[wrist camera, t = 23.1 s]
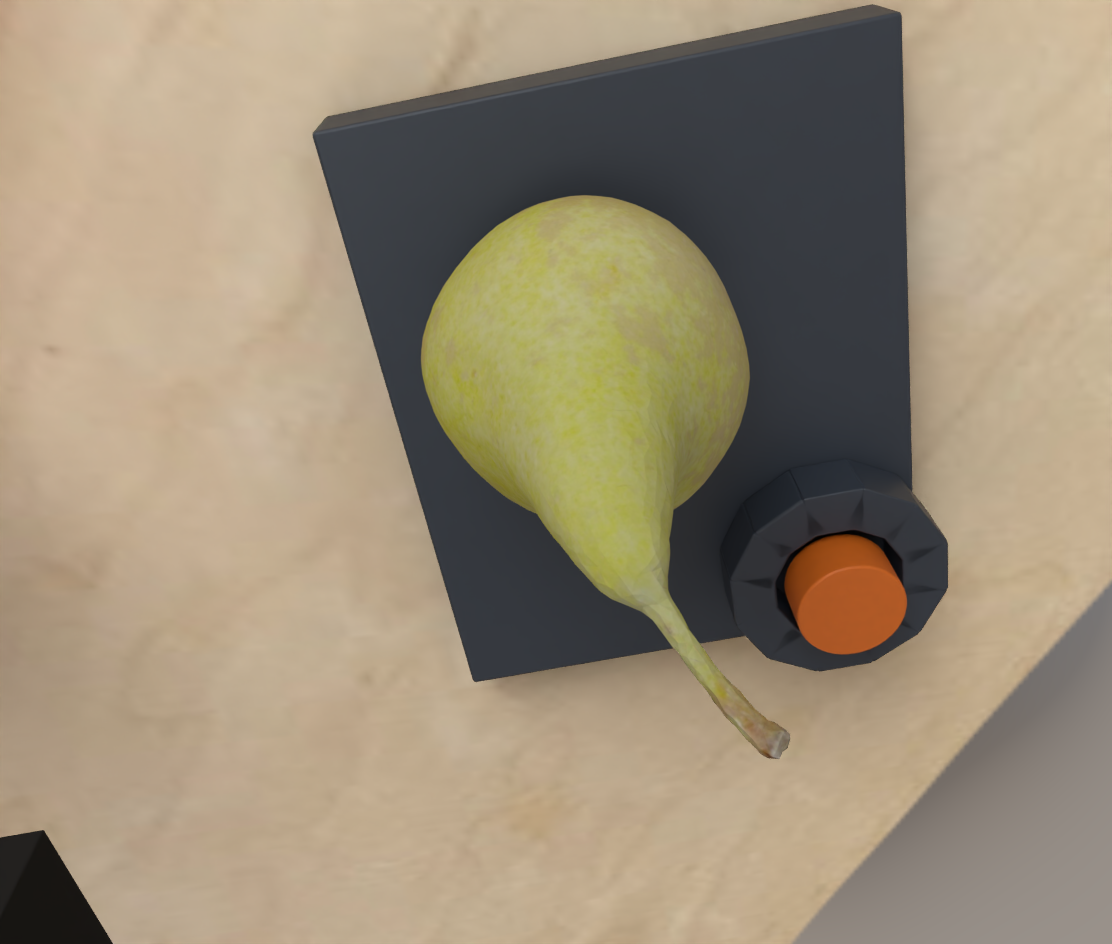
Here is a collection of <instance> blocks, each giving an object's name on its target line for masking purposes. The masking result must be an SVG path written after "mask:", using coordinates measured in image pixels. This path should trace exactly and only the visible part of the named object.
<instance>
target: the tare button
mask: <svg viewBox="0 0 1112 944" xmlns="http://www.w3.org/2000/svg"><path fill="white" fill-rule="evenodd" d="M784 588H785V593H786V596H787V599H788V602H789V604H790V607H791V609H792V612H793V614H794V617H795V619H796V622H797V625H798V627H799V630H800V632H801V634H802V635H803V637H804V638H805V639H806V640H807V641H808V642H809V643H810V644H811V645H813V646H814V647H816V648H818V649H820V650H822V651H825V652H828V653H833V654H841V655H843V654H855V653H860V652H864V651H867V650H869V649H872V648H874V647H876V646H878V645H880V644H881V643H883V642H884V641H886V640H887V639H888V638H889V637H890V636H892V635H893V633H894V632H895V631H896V630H897V629H898V627H899V626H900V624H901V623H902V621H903V619H904V616H905V613H906V608H907V596H906V592H905V589H904V587H903V585H902V583H901V581H900V580H899V578H898V576H897V574H896V573H895V571H894V569H893V567H892V566H891V564H890V562H889V560H888V558H887V557H886V555H885V553H884V552H883V551H882V549H881V548H880V547H879V546H878V545H877V544H875V543H874V542H872V541H870V540H869V539H867V538H864V537H861V536H857V535H852V534H837V535H831V536H827V537H824V538H821V539H818V540H816V541H814V542H812V543H811V544H809V545H807V546H806V547H805V548H803V549H802V550H801V551H800V552H799V553H798V554H797V555H796V556H795V557H794V559H793V560H792V562H791V563H790V565H789V567H788V569H787V572H786V576H785V582H784Z"/></svg>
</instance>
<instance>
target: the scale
mask: <svg viewBox="0 0 1112 944" xmlns="http://www.w3.org/2000/svg"><path fill="white" fill-rule="evenodd" d="M313 139H314V142H315V146H316V149H317V153H318V156H319V159H320V163H321V166H322V170H323V173H324V176H325V180H326V183H327V187H328V190H329V193H330V197H331V200H332V203H333V207H334V210H335V214H336V217H337V220H338V224H339V227H340V231H341V234H342V237H343V241H344V244H345V248H346V251H347V254H348V258H349V261H350V264H351V268H352V271H353V275H354V278H355V281H356V285H357V288H358V292H359V295H360V298H361V302H362V305H363V309H364V312H365V315H366V319H367V322H368V326H369V329H370V332H371V336H372V339H373V342H374V346H375V349H376V353H377V356H378V359H379V363H380V366H381V370H382V373H383V376H384V380H385V383H386V387H387V390H388V393H389V397H390V400H391V403H392V407H393V410H394V414H395V417H396V420H397V424H398V427H399V431H400V434H401V437H402V441H403V444H404V448H405V451H406V454H407V458H408V461H409V465H410V468H411V471H412V475H413V478H414V481H415V485H416V488H417V492H418V495H419V498H420V502H421V505H422V509H423V512H424V515H425V519H426V522H427V526H428V529H429V532H430V536H431V539H432V543H433V546H434V549H435V553H436V556H437V559H438V563H439V566H440V570H441V573H442V576H443V580H444V583H445V587H446V590H447V593H448V597H449V600H450V604H451V607H452V610H453V614H454V617H455V620H456V624H457V627H458V631H459V634H460V637H461V641H462V644H463V648H464V651H465V654H466V658H467V661H468V665H469V668H470V671H471V675H472V678H473V680H474V682H479V681H485V680H490V679H496V678H502V677H508V676H514V675H520V674H525V673H531V672H537V671H543V670H549V669H555V668H560V667H566V666H572V665H578V664H584V663H589V662H595V661H601V660H607V659H613V658H619V657H624V656H630V655H636V654H642V653H648V652H654V651H659V650H665V649H671V648H673V647H672V646H671V645H670V643H669V642H668V640H667V639H666V637H665V636H664V635H663V633H662V632H661V631H660V629H659V628H658V627H657V625H656V624H655V623H654V621H653V620H652V619H650V618H649V617H648V616H646V615H645V614H644V613H642V612H641V611H639V610H636V609H634V608H632V607H629V606H627V605H625V604H622V603H620V602H617V601H615V600H612V599H610V598H609V597H608V596H606V595H605V594H603V593H602V592H600V591H599V590H598V589H597V588H596V587H595V586H594V585H593V583H592V582H591V581H590V580H589V579H588V578H587V577H586V575H585V574H584V573H583V572H582V571H581V570H580V569H579V568H578V567H577V566H576V565H575V564H574V562H573V561H572V560H571V558H570V557H569V555H568V554H567V553H566V552H565V550H564V549H563V548H562V547H561V545H560V544H559V543H558V542H557V541H556V540H555V539H554V538H553V536H552V535H551V534H550V532H549V531H548V530H547V528H546V527H545V525H544V524H543V523H542V521H541V519H540V518H539V516H538V514H536V513H534V512H531V511H529V510H527V509H525V508H524V507H522V506H520V505H518V504H517V503H515V502H513V501H511V500H510V499H508V498H507V497H505V496H504V495H502V494H501V493H500V492H499V491H497V490H496V489H495V488H494V487H493V486H491V485H490V484H489V483H488V482H487V481H486V480H485V479H484V478H482V477H481V476H480V475H479V474H478V473H477V472H476V471H475V470H474V469H473V468H472V467H471V466H470V464H469V463H468V462H467V461H466V460H465V459H464V458H463V456H462V455H461V454H460V452H459V451H458V450H457V448H456V447H455V446H454V444H453V443H452V442H451V440H450V439H449V437H448V436H447V435H446V433H445V432H444V430H443V428H442V426H441V425H440V423H439V421H438V419H437V417H436V415H435V413H434V411H433V408H432V405H431V402H430V400H429V397H428V394H427V392H426V388H425V384H424V380H423V375H422V367H421V349H422V340H423V335H424V331H425V328H426V324H427V321H428V319H429V316H430V314H431V311H432V308H433V305H434V303H435V301H436V299H437V297H438V295H439V293H440V292H441V290H442V288H443V286H444V285H445V283H446V282H447V280H448V279H449V277H450V276H451V274H452V273H453V272H454V270H455V269H456V267H457V266H458V265H459V264H460V263H461V261H462V260H463V259H464V258H465V256H466V255H467V254H468V253H469V251H470V250H471V249H472V248H473V247H474V246H475V245H476V244H477V243H478V242H479V241H480V240H481V239H483V238H484V237H485V236H486V235H487V234H488V233H489V232H490V231H492V230H493V229H494V228H495V227H496V226H497V225H499V224H501V223H502V222H504V221H506V220H507V219H509V218H510V217H512V216H514V215H515V214H517V213H519V212H521V211H523V210H525V209H527V208H529V207H532V206H534V205H537V204H539V203H542V202H546V201H550V200H554V199H558V198H563V197H569V196H581V195H588V196H602V197H611V198H615V199H619V200H622V201H626V202H629V203H632V204H635V205H637V206H640V207H642V208H644V209H646V210H649V211H651V212H653V213H655V214H657V215H658V216H660V217H662V218H664V219H666V220H668V221H669V222H671V223H672V224H673V225H674V226H675V227H677V228H678V229H679V230H680V231H681V232H683V233H684V234H685V235H686V236H687V237H688V238H689V239H690V240H691V241H692V242H693V243H694V244H695V245H696V246H697V247H698V248H699V249H700V251H701V252H702V253H703V254H704V255H705V256H706V257H707V259H708V260H709V262H710V263H711V265H712V266H713V268H714V269H715V271H716V272H717V274H718V276H719V278H720V279H721V281H722V283H723V285H724V287H725V289H726V292H727V294H728V296H729V299H730V301H731V303H732V306H733V308H734V311H735V313H736V316H737V319H738V321H739V324H740V327H741V330H742V334H743V337H744V341H745V345H746V348H747V355H748V361H749V372H750V381H749V389H748V396H747V402H746V407H745V410H744V414H743V417H742V420H741V424H740V427H739V429H738V431H737V433H736V435H735V437H734V439H733V441H732V443H731V445H730V447H729V448H728V450H727V452H726V453H725V455H724V457H723V458H722V460H721V461H720V462H719V464H718V465H717V467H716V468H715V469H714V471H713V472H712V474H711V475H710V476H709V478H708V479H707V480H706V482H705V483H704V484H703V485H702V486H701V487H700V488H699V489H698V490H697V491H696V492H695V493H694V494H693V495H692V496H691V497H690V498H689V499H688V500H686V501H685V502H684V503H683V504H681V505H680V506H678V507H677V508H676V509H674V510H673V518H672V526H671V533H670V537H669V542H670V561H669V570H668V591H669V593H670V596H671V598H672V600H673V602H674V603H675V605H676V606H677V608H678V610H679V611H680V613H681V614H682V616H683V618H684V620H685V622H686V624H687V626H688V628H689V630H690V631H691V633H692V634H693V635H694V637H695V638H696V639H697V641H698V642H699V643H706V642H712V641H718V640H723V639H729V638H735V637H741V636H746V637H747V638H748V639H749V640H750V641H751V642H752V643H753V644H754V645H755V646H756V647H757V648H758V649H759V650H760V651H761V652H762V653H763V654H764V655H765V656H766V657H767V658H769V659H772V660H776V661H779V662H783V663H787V664H791V665H795V666H798V667H802V668H806V669H810V670H814V671H825V670H831V669H837V668H843V667H849V666H855V665H861V664H867V663H871V662H872V661H875V660H877V659H879V658H880V657H882V656H883V655H885V654H887V653H888V652H890V651H891V650H893V649H895V648H896V647H898V646H899V645H901V644H903V643H904V642H906V641H907V640H909V639H911V638H912V637H914V636H915V635H917V634H918V633H919V632H920V631H921V630H922V628H923V627H924V625H925V624H926V622H927V620H928V619H929V617H930V616H931V614H932V613H933V611H934V610H935V608H936V606H937V605H938V603H939V602H940V600H941V599H942V597H943V595H944V594H945V592H946V589H947V588H948V543H947V541H946V538H945V537H944V535H943V534H942V532H941V531H940V529H939V528H938V526H937V525H936V523H935V522H934V520H933V519H932V517H931V516H930V514H929V513H928V512H927V510H926V509H925V508H924V506H923V505H922V504H921V503H920V501H919V500H918V499H917V498H916V496H915V495H914V494H913V493H912V452H911V408H910V365H909V321H908V277H907V234H906V190H905V146H904V102H903V59H902V16H901V13H900V12H897V11H894V10H890V9H887V8H884V7H880V6H877V5H873V4H872V5H867V6H862V7H857V8H853V9H848V10H843V11H838V12H833V13H828V14H823V15H819V16H814V17H809V18H804V19H799V20H794V21H790V22H785V23H780V24H775V25H770V26H765V27H760V28H756V29H751V30H746V31H741V32H736V33H731V34H726V35H722V36H717V37H712V38H707V39H702V40H697V41H692V42H688V43H683V44H678V45H673V46H668V47H663V48H658V49H654V50H649V51H644V52H639V53H634V54H629V55H624V56H620V57H615V58H610V59H605V60H600V61H595V62H590V63H586V64H581V65H576V66H571V67H566V68H561V69H556V70H552V71H547V72H542V73H537V74H532V75H527V76H522V77H518V78H513V79H508V80H503V81H498V82H493V83H488V84H484V85H479V86H474V87H469V88H464V89H459V90H454V91H450V92H445V93H440V94H435V95H430V96H425V97H420V98H416V99H411V100H406V101H401V102H396V103H391V104H386V105H382V106H377V107H372V108H367V109H362V110H357V111H352V112H348V113H343V114H338V115H333V116H328V117H326V118H325V119H324V120H323V122H322V123H321V124H320V125H319V126H318V128H317V129H316V130H315V131H314V132H313ZM837 534H852V535H857V536H861V537H864V538H867V539H869V540H870V541H872V542H874V543H875V544H877V545H878V546H879V547H880V548H881V549H882V551H883V552H884V553H885V555H886V557H887V558H888V560H889V562H890V564H891V566H892V567H893V569H894V571H895V573H896V574H897V576H898V578H899V580H900V581H901V583H902V585H903V587H904V589H905V592H906V596H907V608H906V613H905V616H904V619H903V621H902V623H901V624H900V626H899V627H898V629H897V630H896V631H895V632H894V633H893V635H892V636H890V637H889V638H888V639H887V640H886V641H884V642H883V643H881V644H880V645H878V646H876V647H874V648H872V649H869V650H867V651H864V652H860V653H855V654H843V655H841V654H833V653H828V652H825V651H822V650H820V649H818V648H816V647H814V646H813V645H811V644H810V643H809V642H808V641H807V640H806V639H805V638H804V637H803V635H802V634H801V632H800V630H799V627H798V625H797V622H796V619H795V617H794V614H793V612H792V609H791V607H790V604H789V602H788V599H787V596H786V593H785V588H784V582H785V576H786V572H787V569H788V567H789V565H790V563H791V562H792V560H793V559H794V557H795V556H796V555H797V554H798V553H799V552H800V551H801V550H802V549H803V548H805V547H806V546H807V545H809V544H811V543H812V542H814V541H816V540H818V539H821V538H824V537H827V536H831V535H837Z"/></svg>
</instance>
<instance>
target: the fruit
mask: <svg viewBox="0 0 1112 944" xmlns="http://www.w3.org/2000/svg"><path fill="white" fill-rule="evenodd" d="M421 367H422V375H423V380H424V384H425V388H426V392H427V394H428V397H429V400H430V402H431V405H432V408H433V411H434V413H435V415H436V417H437V419H438V421H439V423H440V425H441V426H442V428H443V430H444V432H445V433H446V435H447V436H448V437H449V439H450V440H451V442H452V443H453V444H454V446H455V447H456V448H457V450H458V451H459V452H460V454H461V455H462V456H463V458H464V459H465V460H466V461H467V462H468V463H469V464H470V466H471V467H472V468H473V469H474V470H475V471H476V472H477V473H478V474H479V475H480V476H481V477H482V478H484V479H485V480H486V481H487V482H488V483H489V484H490V485H491V486H493V487H494V488H495V489H496V490H497V491H499V492H500V493H501V494H502V495H504V496H505V497H507V498H508V499H510V500H511V501H513V502H515V503H517V504H518V505H520V506H522V507H524V508H525V509H527V510H529V511H531V512H534V513H536V514H538V516H539V518H540V519H541V521H542V523H543V524H544V525H545V527H546V528H547V530H548V531H549V532H550V534H551V535H552V536H553V538H554V539H555V540H556V541H557V542H558V543H559V544H560V545H561V547H562V548H563V549H564V550H565V552H566V553H567V554H568V555H569V557H570V558H571V560H572V561H573V562H574V564H575V565H576V566H577V567H578V568H579V569H580V570H581V571H582V572H583V573H584V574H585V575H586V577H587V578H588V579H589V580H590V581H591V582H592V583H593V585H594V586H595V587H596V588H597V589H598V590H599V591H600V592H602V593H603V594H605V595H606V596H608V597H609V598H610V599H612V600H615V601H617V602H620V603H622V604H625V605H627V606H629V607H632V608H634V609H636V610H639V611H641V612H642V613H644V614H645V615H646V616H648V617H649V618H650V619H652V620H653V621H654V623H655V624H656V625H657V627H658V628H659V629H660V631H661V632H662V633H663V635H664V636H665V637H666V639H667V640H668V642H669V643H670V645H671V646H672V647H673V648H674V649H675V650H676V651H677V652H678V653H679V654H680V656H681V658H682V660H683V661H684V662H685V664H686V665H687V666H688V668H689V669H690V670H691V672H692V673H693V674H694V676H695V677H696V678H697V680H698V681H699V682H700V683H701V684H702V685H703V687H704V688H705V689H706V690H707V692H708V693H709V695H710V696H711V698H712V700H713V701H714V703H715V704H716V705H717V706H718V707H719V708H720V710H721V711H722V713H723V714H724V715H725V717H726V718H727V719H728V720H729V721H730V722H731V723H732V724H734V725H735V726H736V728H737V729H738V730H739V731H740V732H741V733H742V735H743V736H744V737H745V738H746V739H747V740H748V741H749V742H750V743H751V744H752V745H753V746H754V747H755V748H756V749H757V750H758V752H759V753H760V754H762V755H763V756H765V757H767V758H774V759H780V757H781V754H782V752H783V751H784V750H786V749H787V748H788V744H789V741H790V734H789V733H788V732H787V731H786V730H785V729H784V728H782V727H781V726H779V725H778V724H776V723H775V722H772V721H769V720H767V719H766V718H765V717H764V716H763V715H761V714H760V713H759V712H758V711H756V710H755V709H754V708H753V706H752V705H751V704H750V703H749V702H748V700H747V699H746V698H745V697H744V695H743V694H742V693H741V691H740V690H739V689H737V688H736V687H735V686H733V685H732V684H731V683H730V682H729V681H728V680H727V679H726V678H725V676H724V675H723V674H722V673H721V672H720V671H719V670H718V669H717V667H716V666H715V665H714V663H713V662H712V660H711V659H710V658H709V656H708V655H707V653H706V652H705V650H704V649H703V647H702V646H701V645H700V643H699V642H698V641H697V639H696V638H695V637H694V635H693V634H692V633H691V631H690V630H689V628H688V626H687V624H686V622H685V620H684V618H683V616H682V614H681V613H680V611H679V610H678V608H677V606H676V605H675V603H674V602H673V600H672V598H671V596H670V593H669V591H668V570H669V561H670V542H669V537H670V533H671V526H672V518H673V510H674V509H676V508H677V507H678V506H680V505H681V504H683V503H684V502H685V501H686V500H688V499H689V498H690V497H691V496H692V495H693V494H694V493H695V492H696V491H697V490H698V489H699V488H700V487H701V486H702V485H703V484H704V483H705V482H706V480H707V479H708V478H709V476H710V475H711V474H712V472H713V471H714V469H715V468H716V467H717V465H718V464H719V462H720V461H721V460H722V458H723V457H724V455H725V453H726V452H727V450H728V448H729V447H730V445H731V443H732V441H733V439H734V437H735V435H736V433H737V431H738V429H739V427H740V424H741V420H742V417H743V414H744V410H745V407H746V402H747V396H748V389H749V381H750V372H749V361H748V355H747V348H746V345H745V341H744V337H743V334H742V330H741V327H740V324H739V321H738V319H737V316H736V313H735V311H734V308H733V306H732V303H731V301H730V299H729V296H728V294H727V292H726V289H725V287H724V285H723V283H722V281H721V279H720V278H719V276H718V274H717V272H716V271H715V269H714V268H713V266H712V265H711V263H710V262H709V260H708V259H707V257H706V256H705V255H704V254H703V253H702V252H701V251H700V249H699V248H698V247H697V246H696V245H695V244H694V243H693V242H692V241H691V240H690V239H689V238H688V237H687V236H686V235H685V234H684V233H683V232H681V231H680V230H679V229H678V228H677V227H675V226H674V225H673V224H672V223H671V222H669V221H668V220H666V219H664V218H662V217H660V216H658V215H657V214H655V213H653V212H651V211H649V210H646V209H644V208H642V207H640V206H637V205H635V204H632V203H629V202H626V201H622V200H619V199H615V198H611V197H602V196H588V195H581V196H569V197H563V198H558V199H554V200H550V201H546V202H542V203H539V204H537V205H534V206H532V207H529V208H527V209H525V210H523V211H521V212H519V213H517V214H515V215H514V216H512V217H510V218H509V219H507V220H506V221H504V222H502V223H501V224H499V225H497V226H496V227H495V228H494V229H493V230H492V231H490V232H489V233H488V234H487V235H486V236H485V237H484V238H483V239H481V240H480V241H479V242H478V243H477V244H476V245H475V246H474V247H473V248H472V249H471V250H470V251H469V253H468V254H467V255H466V256H465V258H464V259H463V260H462V261H461V263H460V264H459V265H458V266H457V267H456V269H455V270H454V272H453V273H452V274H451V276H450V277H449V279H448V280H447V282H446V283H445V285H444V286H443V288H442V290H441V292H440V293H439V295H438V297H437V299H436V301H435V303H434V305H433V308H432V311H431V314H430V316H429V319H428V321H427V324H426V328H425V331H424V335H423V340H422V349H421Z"/></svg>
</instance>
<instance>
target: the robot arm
mask: <svg viewBox="0 0 1112 944" xmlns="http://www.w3.org/2000/svg"><path fill="white" fill-rule="evenodd" d="M0 944H113V943H112V941H111V940H110V938H109V936H108V935H107V933H106V932H105V930H104V928H103V927H102V925H101V923H100V922H99V920H98V918H97V917H96V915H95V913H94V912H93V910H92V909H91V907H90V905H89V904H88V902H87V900H86V899H85V897H84V895H83V894H82V892H81V891H80V889H79V887H78V886H77V884H76V882H75V881H74V879H73V877H72V876H71V874H70V872H69V871H68V869H67V868H66V866H65V864H64V863H63V861H62V859H61V858H60V856H59V854H58V853H57V851H56V850H55V848H54V846H53V845H52V843H51V841H50V840H49V838H48V836H47V835H46V833H45V831H44V830H41V831H35V832H30V833H24V834H18V835H13V836H7V837H1V838H0Z"/></svg>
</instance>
